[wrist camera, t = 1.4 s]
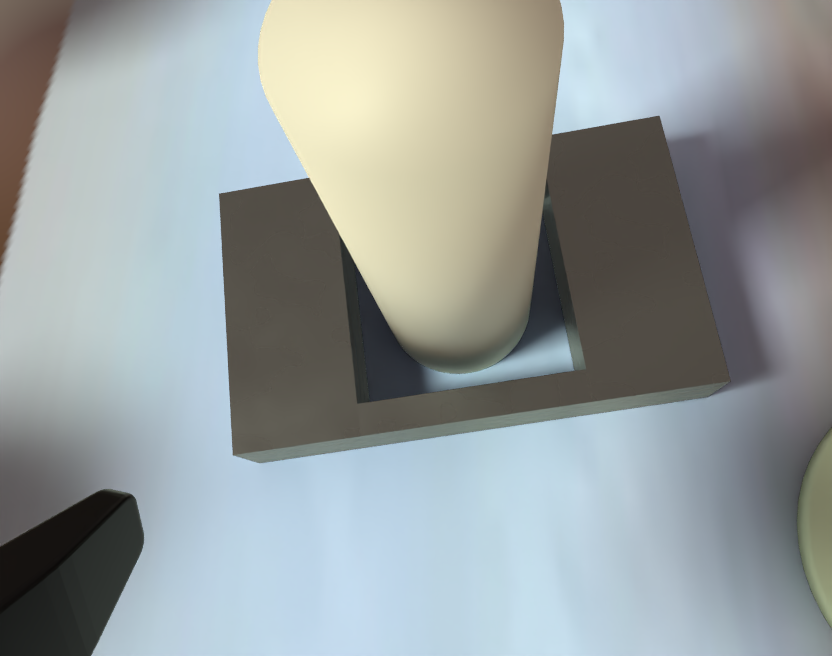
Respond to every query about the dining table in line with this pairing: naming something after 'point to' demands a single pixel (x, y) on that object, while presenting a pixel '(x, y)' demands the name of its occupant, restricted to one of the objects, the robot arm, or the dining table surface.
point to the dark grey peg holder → (491, 403)
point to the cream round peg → (426, 154)
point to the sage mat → (817, 525)
